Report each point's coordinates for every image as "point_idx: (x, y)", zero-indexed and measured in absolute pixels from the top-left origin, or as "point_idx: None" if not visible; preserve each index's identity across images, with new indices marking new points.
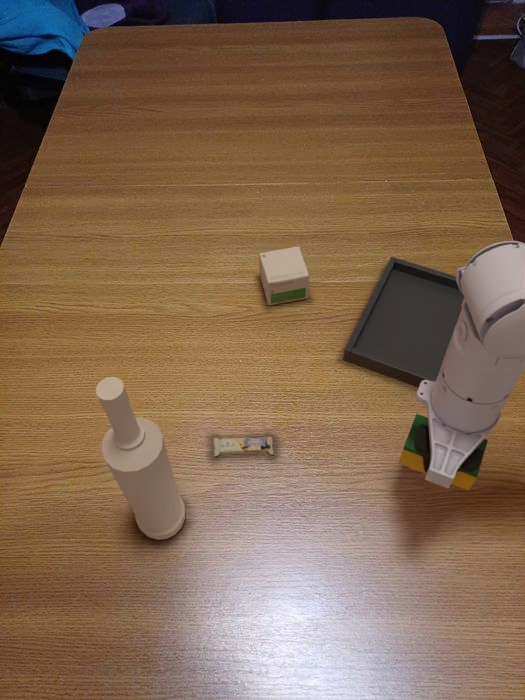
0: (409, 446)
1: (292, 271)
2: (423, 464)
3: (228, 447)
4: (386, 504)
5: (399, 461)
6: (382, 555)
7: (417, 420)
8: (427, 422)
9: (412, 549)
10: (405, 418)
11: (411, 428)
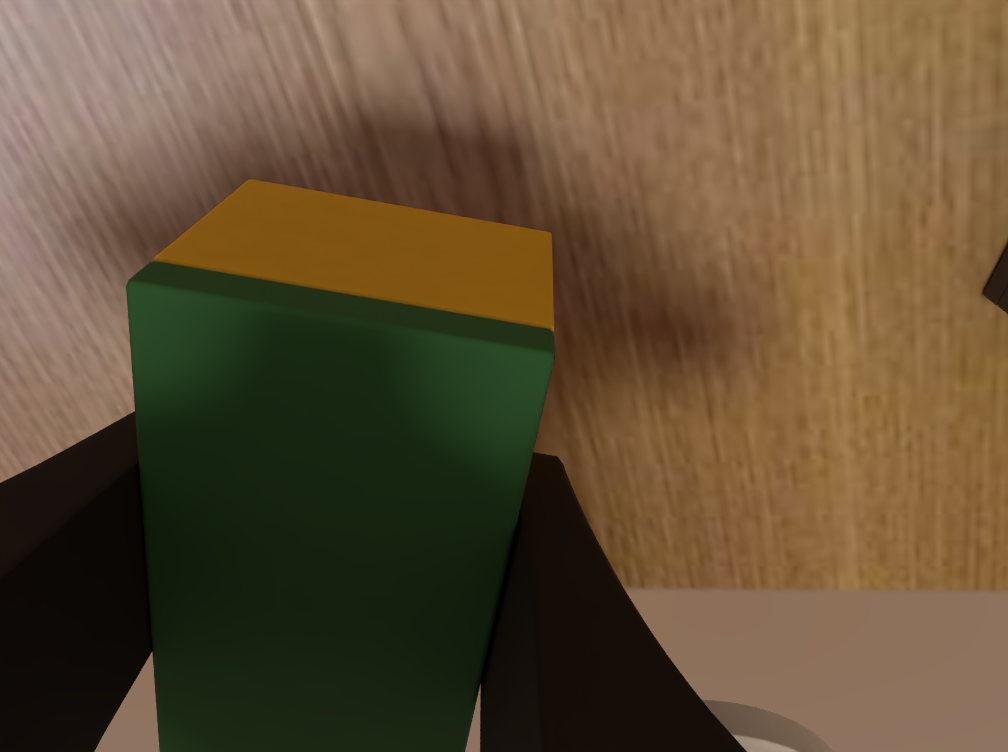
0: (143, 331)
1: None
2: (100, 430)
3: None
4: (275, 88)
5: (235, 190)
6: (18, 109)
7: (471, 371)
8: (473, 456)
9: (117, 240)
10: (821, 117)
11: (358, 326)
